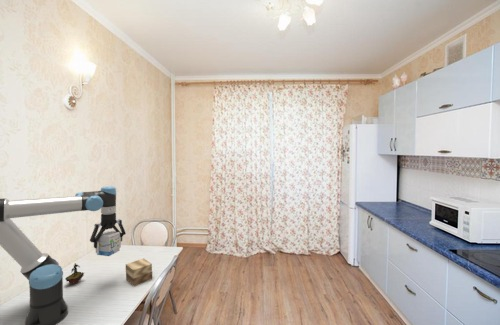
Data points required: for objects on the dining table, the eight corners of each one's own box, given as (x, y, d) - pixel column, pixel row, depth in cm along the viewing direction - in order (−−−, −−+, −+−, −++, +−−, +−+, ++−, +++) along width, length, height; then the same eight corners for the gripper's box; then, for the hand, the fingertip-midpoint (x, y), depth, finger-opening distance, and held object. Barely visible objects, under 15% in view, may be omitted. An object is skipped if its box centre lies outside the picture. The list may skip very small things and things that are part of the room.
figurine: (75, 278, 144) (74, 259, 144) (87, 279, 144) (87, 259, 143) (61, 287, 135) (61, 267, 134) (74, 288, 134) (74, 267, 134)
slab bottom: (134, 287, 137) (134, 278, 137) (126, 280, 144) (126, 272, 144) (152, 279, 146) (152, 271, 145) (143, 273, 153) (143, 265, 152)
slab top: (133, 278, 137) (133, 270, 136) (125, 272, 144) (125, 264, 144) (151, 271, 145) (151, 263, 145) (143, 265, 152) (143, 258, 152)
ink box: (109, 256, 133) (109, 236, 133) (96, 254, 135) (96, 234, 134) (120, 250, 142) (120, 231, 141) (108, 249, 143) (108, 230, 143)
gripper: (87, 218, 126) (87, 258, 127) (132, 210, 144) (131, 245, 145) (82, 215, 131) (82, 254, 131) (126, 208, 149) (126, 242, 150)
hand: (108, 249), depth 138 cm, fingers closed on ink box, 11 cm apart
